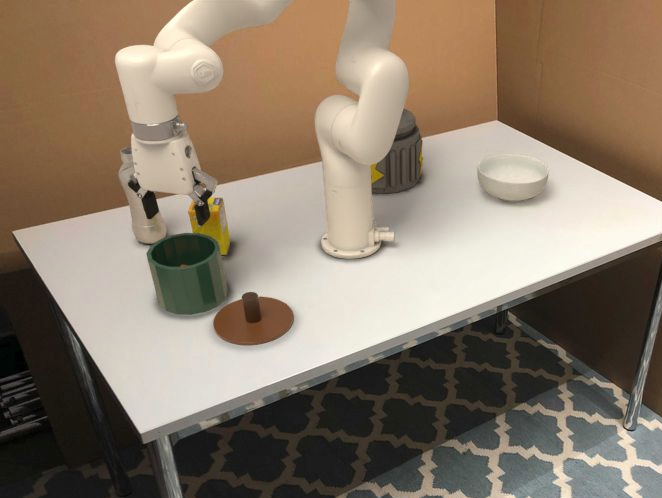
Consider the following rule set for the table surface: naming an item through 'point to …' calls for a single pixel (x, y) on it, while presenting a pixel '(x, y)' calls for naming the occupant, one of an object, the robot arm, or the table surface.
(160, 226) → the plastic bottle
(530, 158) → the cereal bowl
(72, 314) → the table surface
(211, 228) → the supplement box
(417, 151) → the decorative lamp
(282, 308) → the canister lid
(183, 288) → the canister
